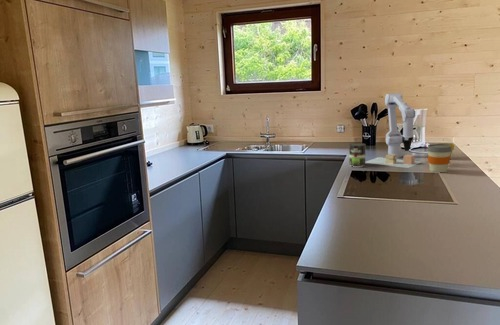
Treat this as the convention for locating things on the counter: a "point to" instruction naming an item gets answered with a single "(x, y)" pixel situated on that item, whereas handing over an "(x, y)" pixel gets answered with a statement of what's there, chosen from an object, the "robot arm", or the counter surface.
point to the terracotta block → (408, 159)
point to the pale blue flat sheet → (398, 164)
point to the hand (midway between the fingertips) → (407, 149)
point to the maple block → (391, 158)
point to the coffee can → (357, 154)
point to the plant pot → (450, 145)
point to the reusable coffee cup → (439, 157)
